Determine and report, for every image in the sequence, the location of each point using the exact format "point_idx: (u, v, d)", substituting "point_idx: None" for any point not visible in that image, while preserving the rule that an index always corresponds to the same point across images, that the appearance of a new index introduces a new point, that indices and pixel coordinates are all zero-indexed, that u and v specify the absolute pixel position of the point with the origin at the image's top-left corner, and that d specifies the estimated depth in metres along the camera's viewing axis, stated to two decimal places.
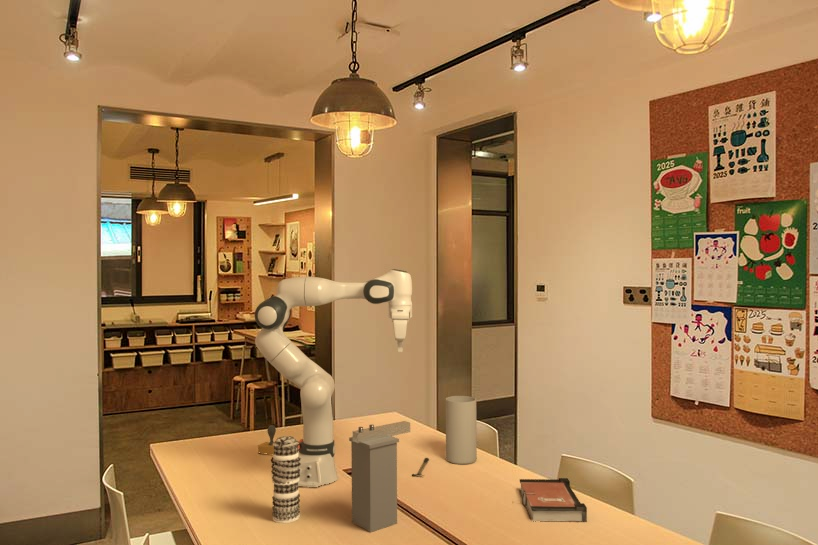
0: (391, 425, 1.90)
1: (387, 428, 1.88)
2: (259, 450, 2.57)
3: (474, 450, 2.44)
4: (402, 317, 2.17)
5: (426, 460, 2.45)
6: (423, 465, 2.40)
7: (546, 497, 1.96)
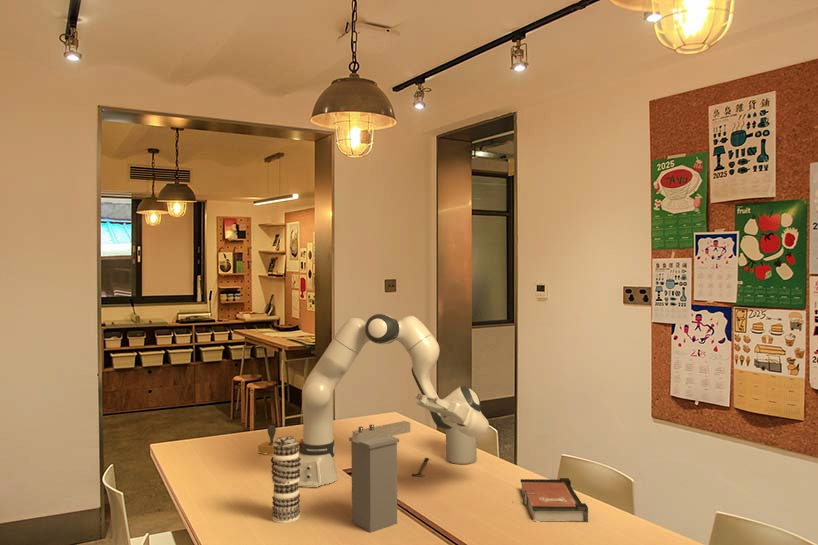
0: (391, 425, 1.90)
1: (387, 428, 1.88)
2: (259, 450, 2.57)
3: (474, 450, 2.44)
4: (468, 419, 2.00)
5: (426, 460, 2.46)
6: (423, 465, 2.40)
7: (547, 497, 1.96)
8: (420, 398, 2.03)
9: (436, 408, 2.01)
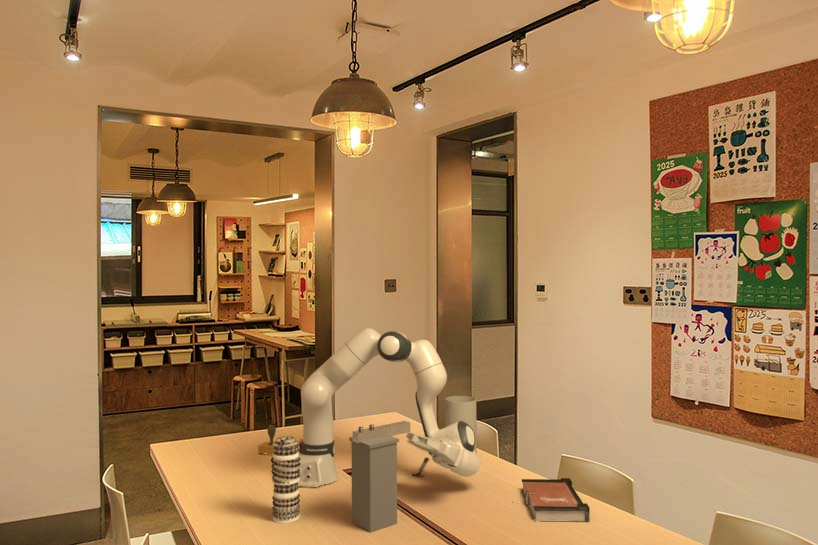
0: (391, 425, 1.90)
1: (387, 428, 1.88)
2: (259, 450, 2.57)
3: None
4: (459, 460, 1.97)
5: (426, 460, 2.46)
6: (423, 465, 2.40)
7: (548, 497, 1.96)
8: (411, 437, 2.01)
9: (427, 448, 1.98)
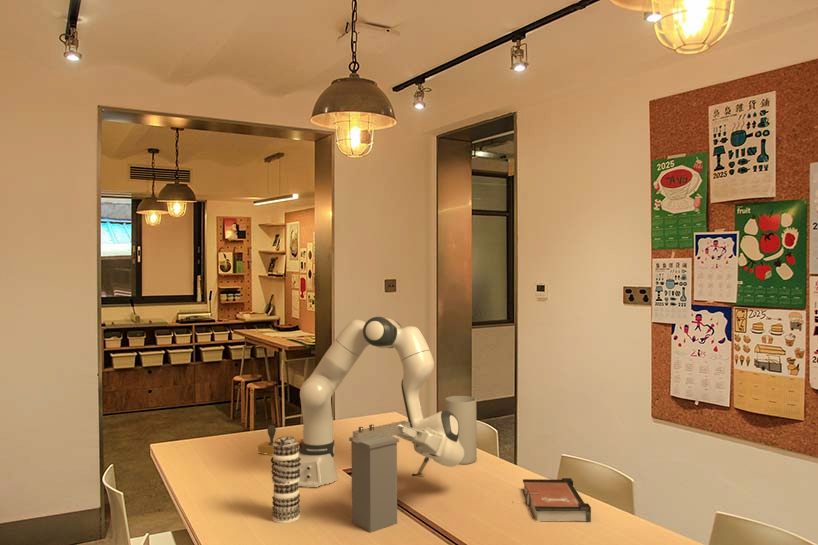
0: (391, 425, 1.90)
1: (387, 428, 1.88)
2: (259, 450, 2.57)
3: (474, 450, 2.44)
4: (441, 449, 1.92)
5: (426, 459, 2.46)
6: (423, 464, 2.40)
7: (549, 497, 1.96)
8: None
9: (408, 437, 1.93)
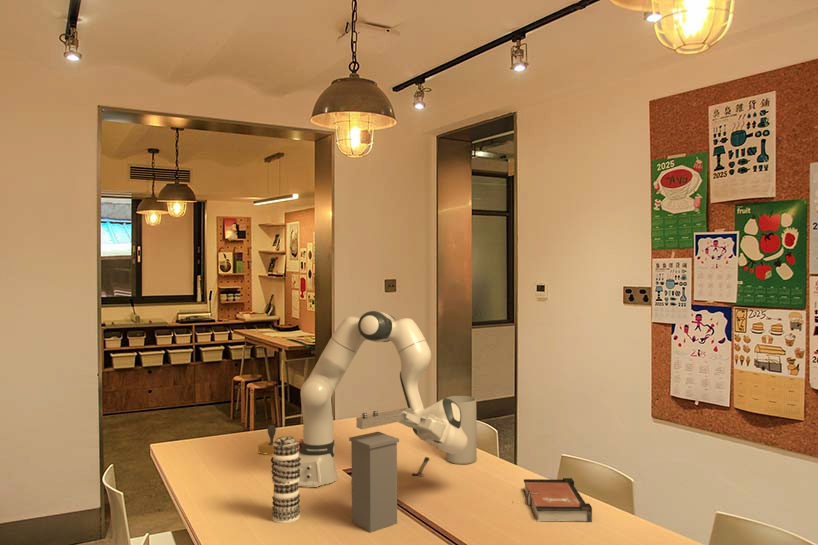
0: (395, 411, 1.91)
1: (391, 414, 1.89)
2: (259, 450, 2.57)
3: (474, 450, 2.44)
4: (444, 435, 1.93)
5: (426, 459, 2.46)
6: (423, 464, 2.40)
7: (550, 497, 1.96)
8: None
9: (412, 424, 1.94)
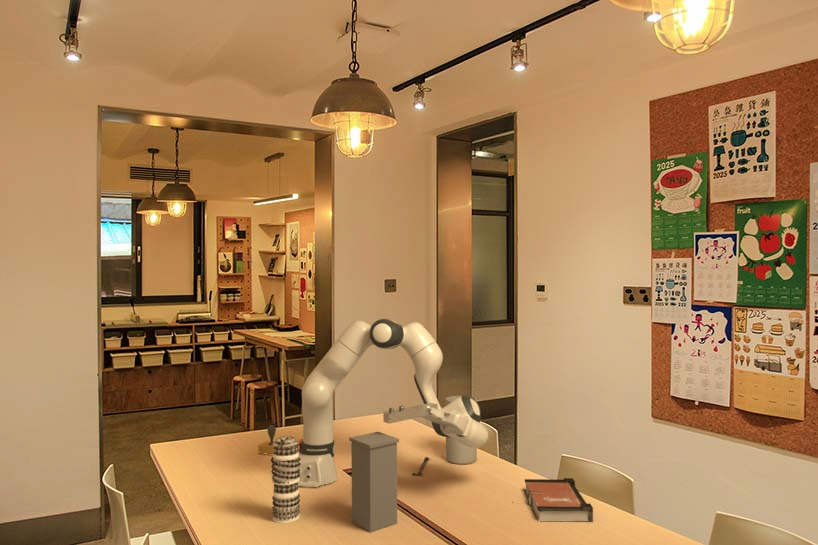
0: (419, 407, 1.97)
1: (416, 409, 1.95)
2: (259, 450, 2.57)
3: (474, 450, 2.44)
4: (467, 429, 1.99)
5: (426, 459, 2.46)
6: (423, 464, 2.41)
7: (551, 497, 1.96)
8: None
9: (435, 419, 2.01)
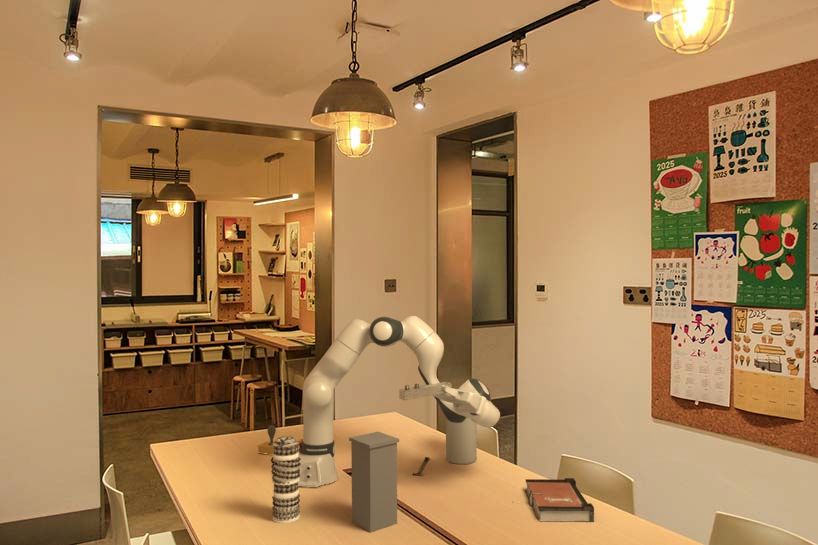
0: (434, 385, 2.01)
1: (431, 387, 1.99)
2: (259, 450, 2.57)
3: (474, 450, 2.44)
4: (481, 408, 2.03)
5: (426, 459, 2.47)
6: (423, 464, 2.41)
7: (552, 497, 1.96)
8: None
9: (449, 397, 2.05)
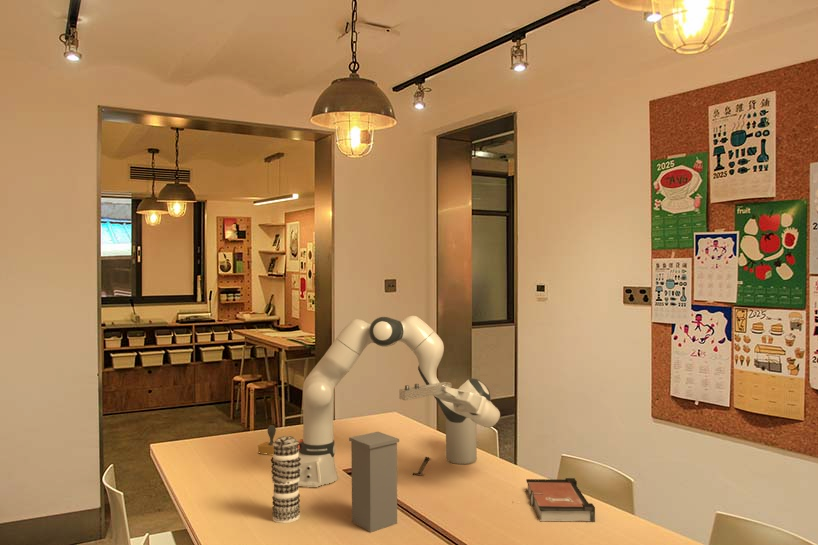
0: (434, 385, 2.01)
1: (431, 387, 1.99)
2: (259, 450, 2.57)
3: (474, 450, 2.44)
4: (481, 408, 2.03)
5: (426, 459, 2.47)
6: (423, 464, 2.41)
7: (553, 497, 1.96)
8: None
9: (449, 397, 2.05)
